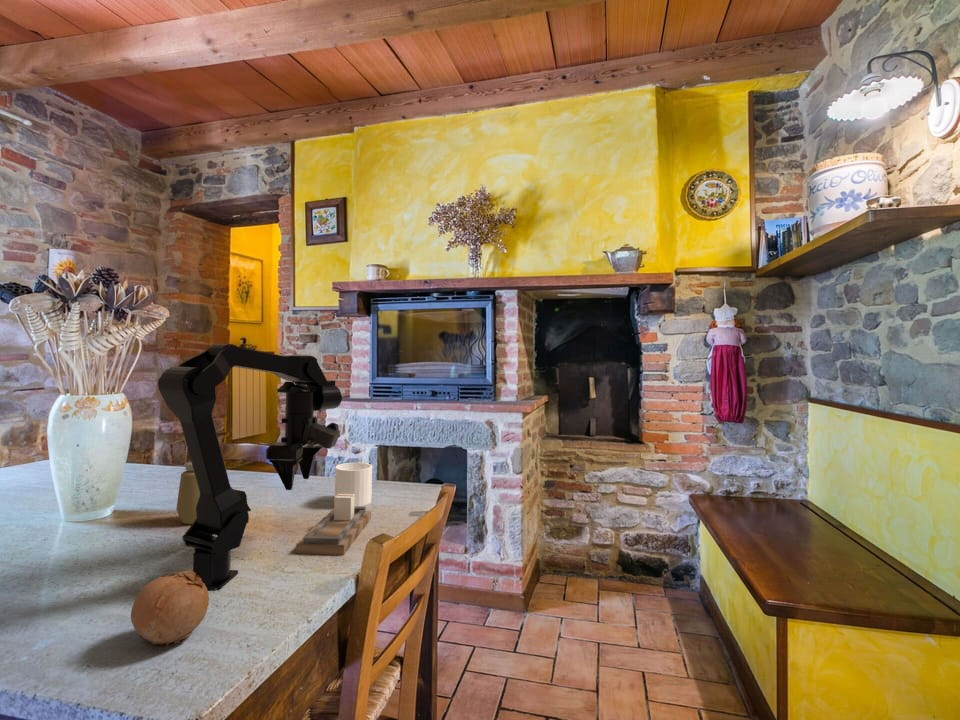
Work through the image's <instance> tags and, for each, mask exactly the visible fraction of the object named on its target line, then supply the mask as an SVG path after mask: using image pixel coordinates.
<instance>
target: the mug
mask: <svg viewBox="0 0 960 720" xmlns="http://www.w3.org/2000/svg"><path fill="white" fill-rule="evenodd" d="M334 469H335V470H334V471H335V472H334V473H335V475H334V497H335V496H336V495H338V494H355V501H354V506H357V507H367V506H369V505H370V504H371V503H372V493H373V492H372V491H373V490H372V489H373V486H372V485H373V483H372V482H373V465H372V464H370V463H367V462H346V463H340V464H338V465H336V466H335V467H334Z"/></svg>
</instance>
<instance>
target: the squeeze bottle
mask: <svg viewBox="0 0 960 720" xmlns="http://www.w3.org/2000/svg"><path fill="white" fill-rule="evenodd" d="M179 479H180V481H179V487H178V496H177V502H176V507H175V509H176V512H177V515H178V517H179V519H180V522H181V523H182V524H185V525H192V524H193V523H194V521H195V520H196V519H197V515H196V506H197V503H198V500H199V497H200V491H199V487H198V483H197V480H196V476H195V473H194V469H193V466H192V462H191V460H190V461H188V462H186V463H185V471H182V473H181V474H180V478H179Z"/></svg>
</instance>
